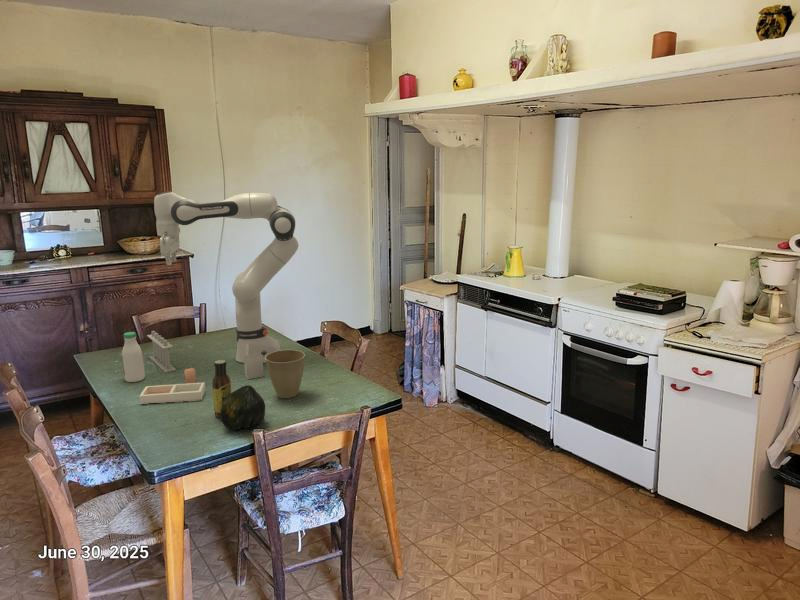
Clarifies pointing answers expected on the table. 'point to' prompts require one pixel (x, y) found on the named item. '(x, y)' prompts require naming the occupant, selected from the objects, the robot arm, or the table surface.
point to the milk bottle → (132, 359)
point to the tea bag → (253, 366)
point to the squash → (243, 408)
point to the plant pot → (285, 371)
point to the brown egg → (190, 375)
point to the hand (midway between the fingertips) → (171, 263)
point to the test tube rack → (161, 352)
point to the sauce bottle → (220, 386)
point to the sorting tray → (172, 393)
